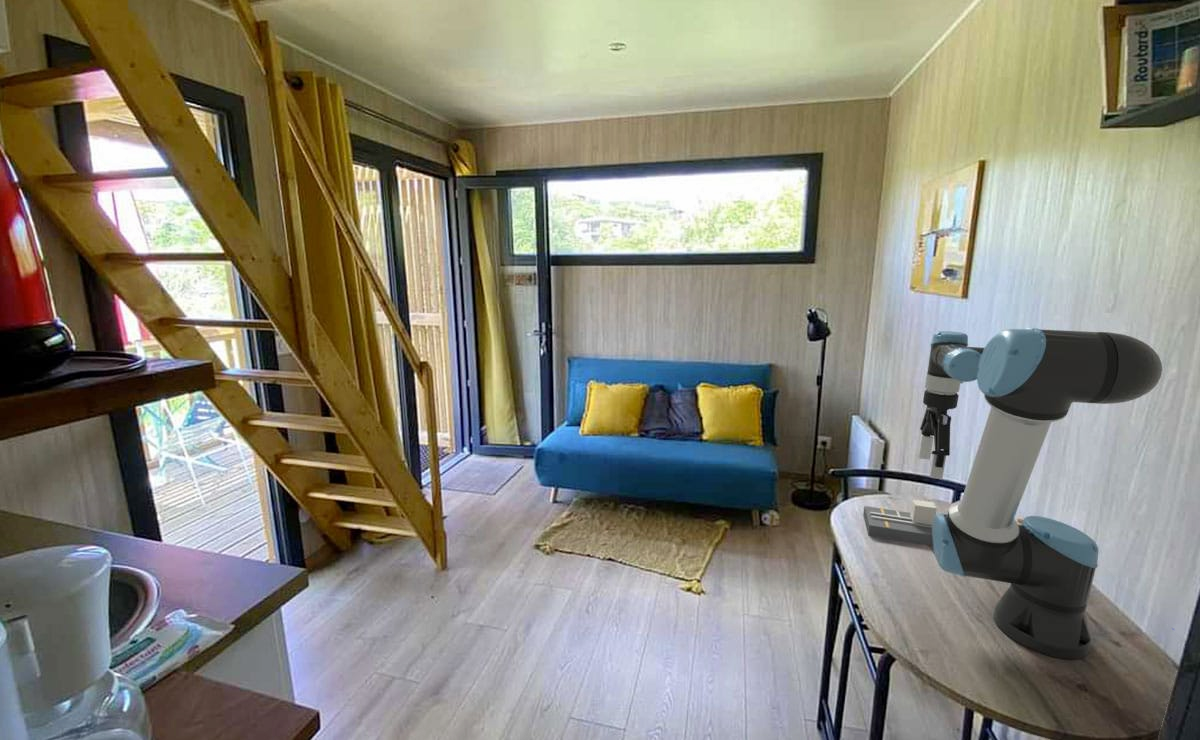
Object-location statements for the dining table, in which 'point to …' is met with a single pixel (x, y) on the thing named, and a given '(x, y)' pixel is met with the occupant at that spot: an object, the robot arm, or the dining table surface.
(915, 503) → the fader knob
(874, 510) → the fader console
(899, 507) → the dining table surface
